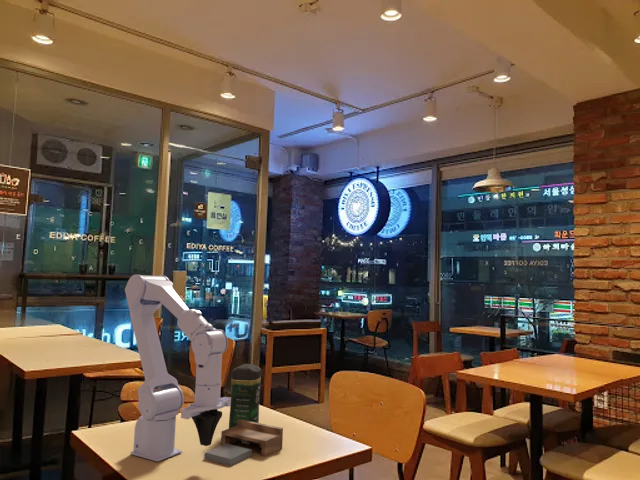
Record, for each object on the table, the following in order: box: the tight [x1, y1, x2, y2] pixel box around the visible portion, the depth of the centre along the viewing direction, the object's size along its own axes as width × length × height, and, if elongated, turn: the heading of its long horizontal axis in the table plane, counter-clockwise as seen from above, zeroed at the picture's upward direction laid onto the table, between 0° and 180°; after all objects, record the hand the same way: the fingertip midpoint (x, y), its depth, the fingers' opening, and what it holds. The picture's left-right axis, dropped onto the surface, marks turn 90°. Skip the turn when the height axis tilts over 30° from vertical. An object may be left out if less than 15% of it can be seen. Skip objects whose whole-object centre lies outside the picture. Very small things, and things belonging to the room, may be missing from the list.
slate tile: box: [203, 443, 253, 467], centre depth 119 cm, size 8×8×2 cm
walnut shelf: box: [220, 419, 284, 457], centre depth 127 cm, size 14×8×5 cm, turn 61°
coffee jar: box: [228, 363, 262, 429], centre depth 141 cm, size 10×8×19 cm
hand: (205, 444), depth 112 cm, fingers closed
